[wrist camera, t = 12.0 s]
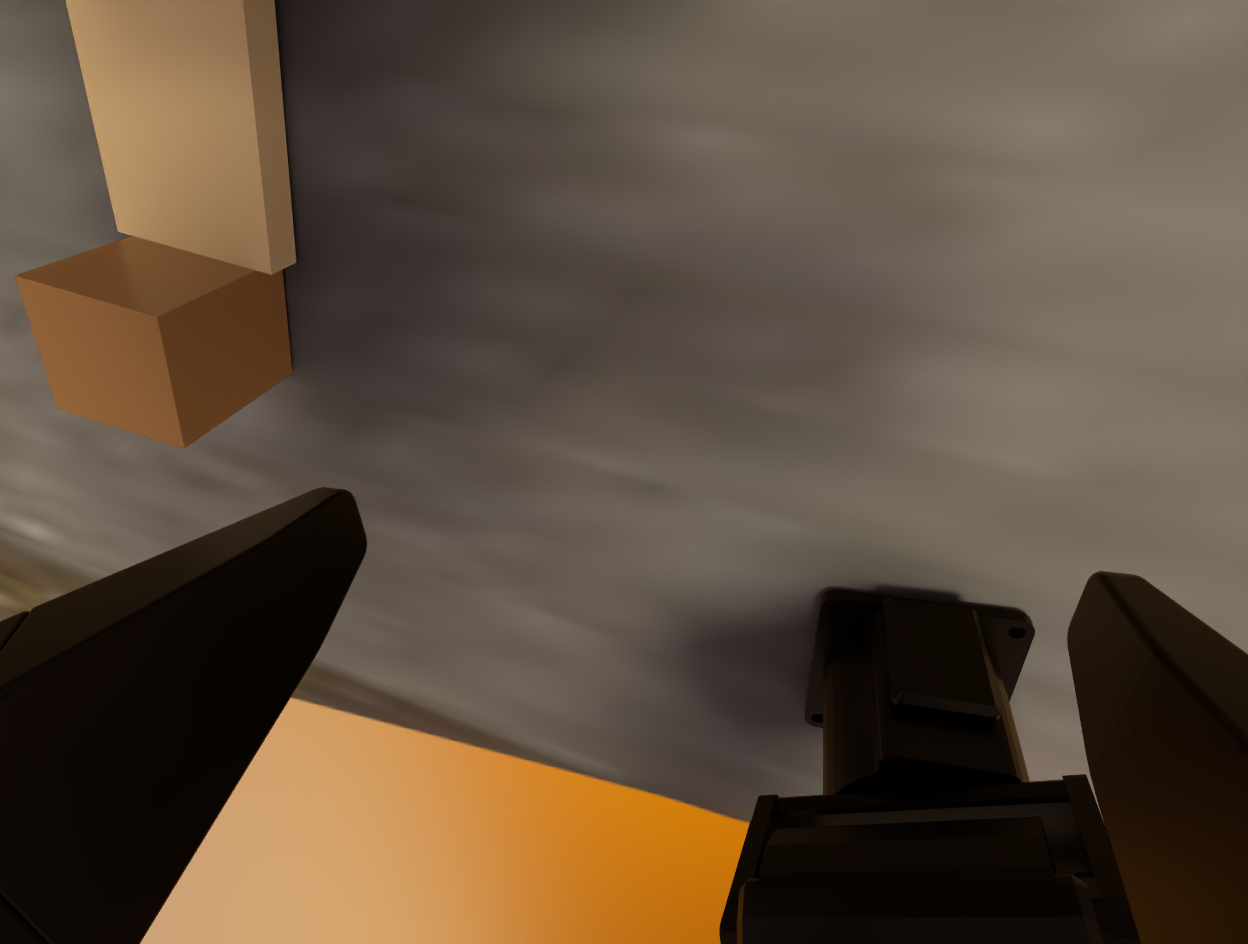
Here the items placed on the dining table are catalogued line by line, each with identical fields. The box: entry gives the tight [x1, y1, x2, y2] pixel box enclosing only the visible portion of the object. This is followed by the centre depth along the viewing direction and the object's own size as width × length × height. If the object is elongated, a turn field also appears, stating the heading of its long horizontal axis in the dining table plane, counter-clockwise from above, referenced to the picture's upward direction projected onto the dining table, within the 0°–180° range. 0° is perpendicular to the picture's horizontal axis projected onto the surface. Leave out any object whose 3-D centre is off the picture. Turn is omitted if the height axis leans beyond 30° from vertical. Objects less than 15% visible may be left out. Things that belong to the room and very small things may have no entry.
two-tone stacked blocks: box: [15, 0, 296, 448], centre depth 18 cm, size 16×5×5 cm, turn 169°
